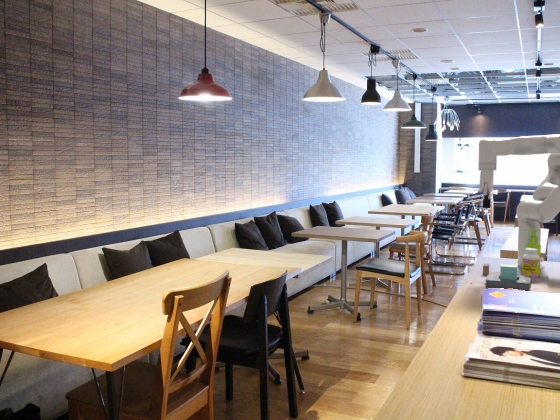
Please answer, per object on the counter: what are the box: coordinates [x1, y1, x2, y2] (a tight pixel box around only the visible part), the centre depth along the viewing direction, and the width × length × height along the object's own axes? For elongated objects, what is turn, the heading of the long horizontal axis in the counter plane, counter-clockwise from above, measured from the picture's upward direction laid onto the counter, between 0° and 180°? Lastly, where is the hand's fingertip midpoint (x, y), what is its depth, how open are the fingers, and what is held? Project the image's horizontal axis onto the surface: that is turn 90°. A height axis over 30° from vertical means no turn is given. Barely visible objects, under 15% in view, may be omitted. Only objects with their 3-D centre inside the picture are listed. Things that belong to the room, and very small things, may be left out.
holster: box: [480, 263, 501, 277], centre depth 236 cm, size 10×12×5 cm
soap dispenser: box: [524, 229, 542, 274], centre depth 240 cm, size 6×7×20 cm
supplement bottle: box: [521, 248, 541, 279], centre depth 231 cm, size 7×7×13 cm
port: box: [485, 273, 532, 291], centre depth 220 cm, size 14×16×3 cm
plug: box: [500, 264, 518, 280], centre depth 220 cm, size 4×6×8 cm, turn 64°
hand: (486, 208), depth 244 cm, fingers closed
